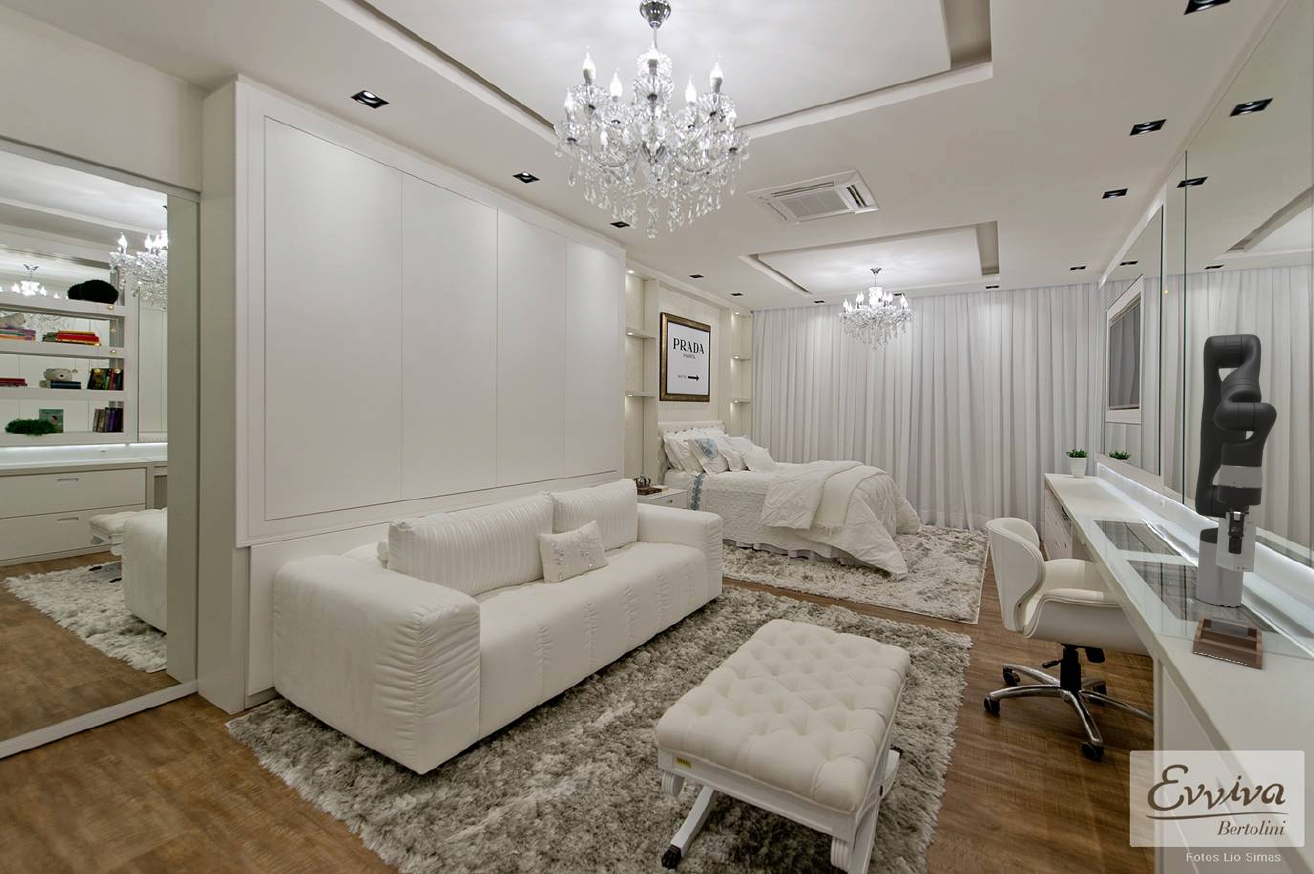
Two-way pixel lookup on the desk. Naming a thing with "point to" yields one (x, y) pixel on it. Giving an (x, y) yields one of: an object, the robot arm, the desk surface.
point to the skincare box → (1246, 558)
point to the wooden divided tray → (1229, 640)
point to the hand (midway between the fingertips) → (1235, 550)
